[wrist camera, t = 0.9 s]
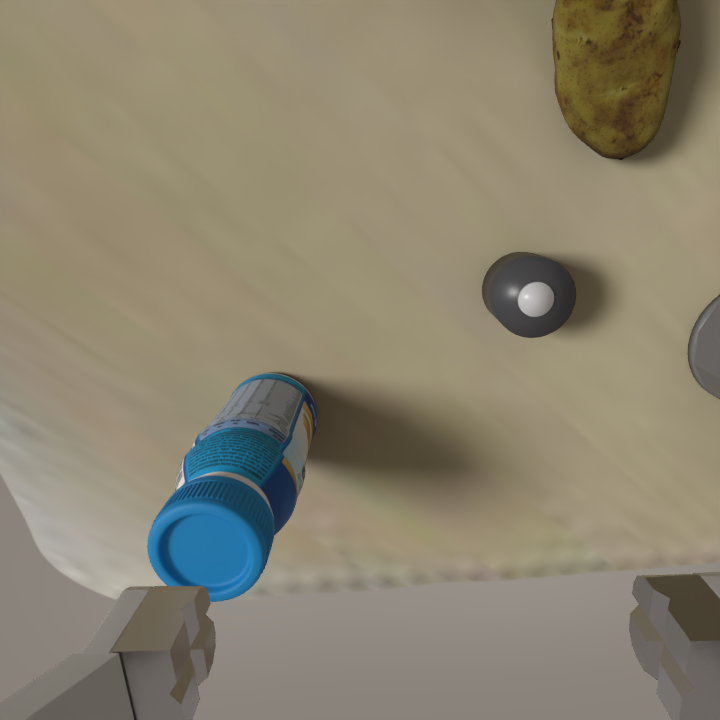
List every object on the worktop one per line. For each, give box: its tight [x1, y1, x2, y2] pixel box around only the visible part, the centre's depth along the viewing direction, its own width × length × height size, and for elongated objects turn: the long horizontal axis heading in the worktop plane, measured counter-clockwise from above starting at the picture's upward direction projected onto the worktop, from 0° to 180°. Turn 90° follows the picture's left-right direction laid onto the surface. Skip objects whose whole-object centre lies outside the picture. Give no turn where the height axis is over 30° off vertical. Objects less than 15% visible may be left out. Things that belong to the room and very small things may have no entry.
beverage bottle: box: [147, 373, 317, 602], centre depth 38 cm, size 8×8×20 cm
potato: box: [552, 0, 681, 160], centre depth 35 cm, size 8×13×8 cm, turn 1°
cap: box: [482, 252, 576, 338], centre depth 41 cm, size 6×6×5 cm
